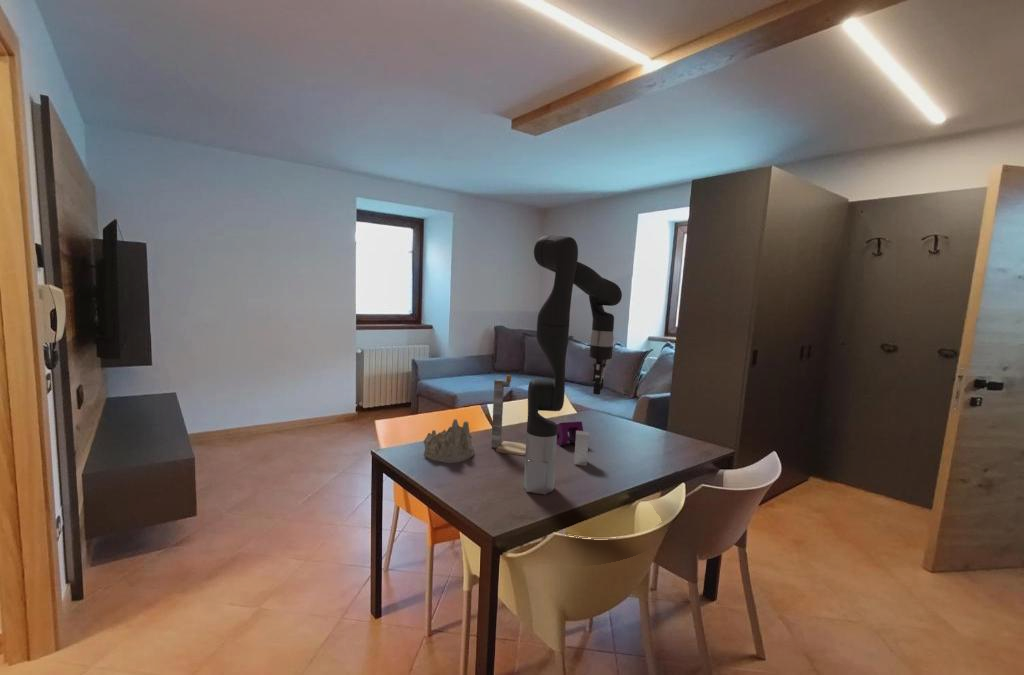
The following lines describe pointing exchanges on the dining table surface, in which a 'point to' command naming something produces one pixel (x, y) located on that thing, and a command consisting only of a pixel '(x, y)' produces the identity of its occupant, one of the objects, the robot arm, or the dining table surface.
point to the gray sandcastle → (449, 444)
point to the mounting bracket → (563, 432)
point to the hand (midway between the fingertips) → (598, 391)
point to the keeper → (497, 422)
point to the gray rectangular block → (581, 448)
